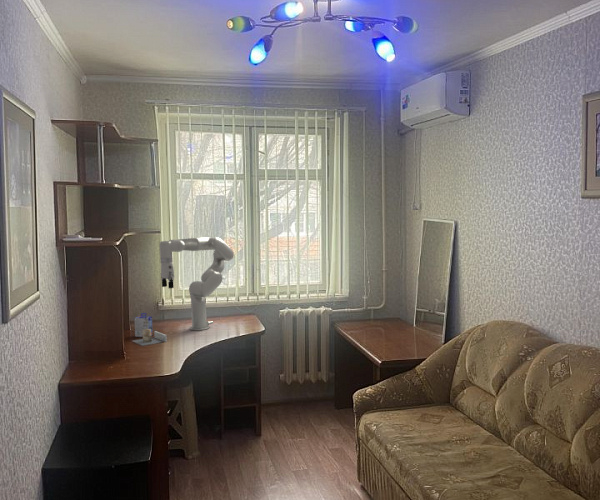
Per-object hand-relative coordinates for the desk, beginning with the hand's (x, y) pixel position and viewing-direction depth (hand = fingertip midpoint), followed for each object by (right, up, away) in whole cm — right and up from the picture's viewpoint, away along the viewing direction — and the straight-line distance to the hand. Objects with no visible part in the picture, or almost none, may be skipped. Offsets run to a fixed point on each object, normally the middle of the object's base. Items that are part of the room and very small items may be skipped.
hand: (167, 287), depth 375 cm
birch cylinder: (-9, -32, -16) cm, 36 cm away
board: (-9, -32, -16) cm, 37 cm away
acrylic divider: (-2, -31, -11) cm, 33 cm away
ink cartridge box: (-15, -31, 0) cm, 35 cm away
